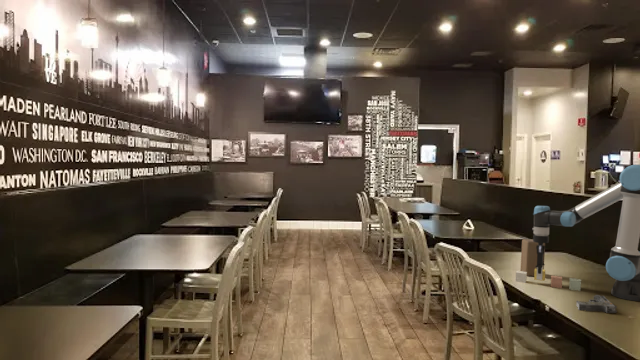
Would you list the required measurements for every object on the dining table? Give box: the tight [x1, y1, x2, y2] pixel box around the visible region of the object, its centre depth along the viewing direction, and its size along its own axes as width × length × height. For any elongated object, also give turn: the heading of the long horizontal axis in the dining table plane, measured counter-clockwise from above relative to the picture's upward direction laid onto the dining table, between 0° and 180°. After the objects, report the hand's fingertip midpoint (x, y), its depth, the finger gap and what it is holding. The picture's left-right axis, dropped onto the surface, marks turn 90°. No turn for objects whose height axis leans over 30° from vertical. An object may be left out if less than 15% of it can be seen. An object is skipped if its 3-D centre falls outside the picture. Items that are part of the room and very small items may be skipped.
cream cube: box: [515, 270, 528, 284], centre depth 247 cm, size 5×5×5 cm
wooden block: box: [519, 238, 546, 277], centre depth 263 cm, size 10×10×20 cm
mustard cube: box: [533, 269, 546, 282], centre depth 242 cm, size 5×5×5 cm
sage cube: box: [568, 277, 582, 292], centre depth 234 cm, size 5×5×5 cm
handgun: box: [576, 294, 618, 314], centre depth 206 cm, size 4×20×15 cm
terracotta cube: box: [550, 275, 563, 289], centre depth 238 cm, size 5×5×5 cm
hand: (539, 278), depth 242 cm, fingers closed on mustard cube, 5 cm apart
